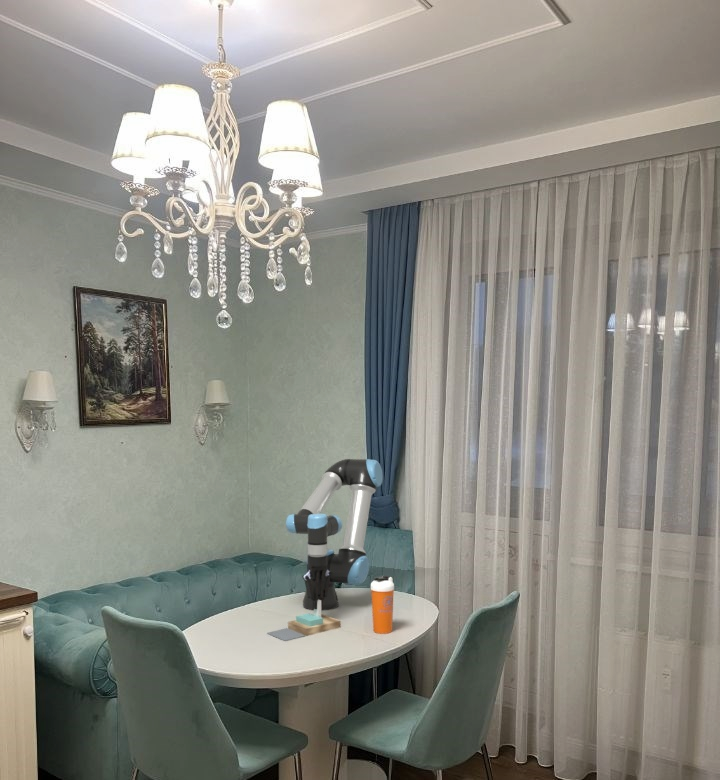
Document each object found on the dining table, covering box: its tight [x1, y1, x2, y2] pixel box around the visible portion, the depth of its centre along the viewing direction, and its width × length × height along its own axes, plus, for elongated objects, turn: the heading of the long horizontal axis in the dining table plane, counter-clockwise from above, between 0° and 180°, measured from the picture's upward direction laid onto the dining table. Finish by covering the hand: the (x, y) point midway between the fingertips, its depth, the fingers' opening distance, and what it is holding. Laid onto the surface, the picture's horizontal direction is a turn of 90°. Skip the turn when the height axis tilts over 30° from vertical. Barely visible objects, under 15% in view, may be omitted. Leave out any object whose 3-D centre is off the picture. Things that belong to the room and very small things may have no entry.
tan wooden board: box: [287, 613, 342, 637], centre depth 271 cm, size 16×12×2 cm
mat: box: [266, 627, 306, 642], centre depth 262 cm, size 9×12×1 cm
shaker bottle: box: [370, 574, 395, 635], centre depth 267 cm, size 9×9×20 cm
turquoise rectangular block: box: [295, 613, 323, 627], centre depth 269 cm, size 6×9×2 cm, turn 40°
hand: (317, 617), depth 271 cm, fingers closed
